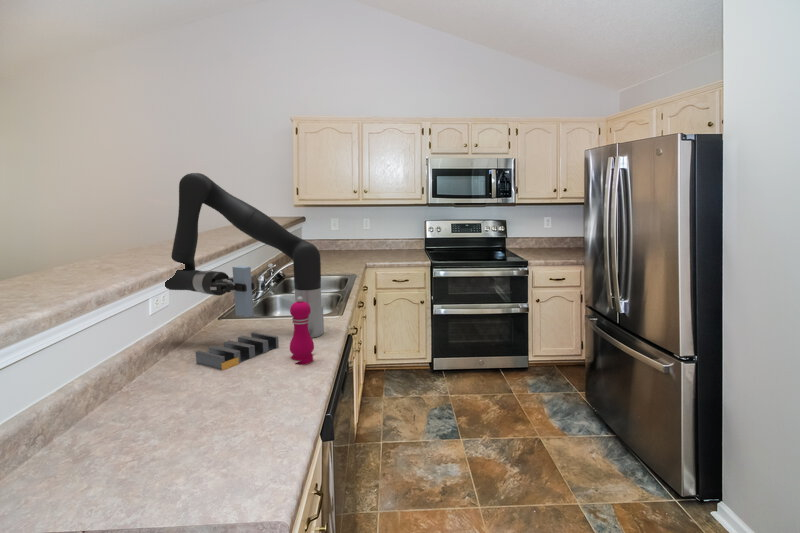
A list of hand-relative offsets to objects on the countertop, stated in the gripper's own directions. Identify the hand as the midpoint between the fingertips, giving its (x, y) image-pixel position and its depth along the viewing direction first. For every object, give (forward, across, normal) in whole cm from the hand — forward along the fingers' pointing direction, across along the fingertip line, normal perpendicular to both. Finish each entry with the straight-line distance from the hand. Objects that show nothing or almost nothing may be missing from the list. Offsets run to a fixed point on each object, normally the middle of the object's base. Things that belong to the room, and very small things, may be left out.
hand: (249, 287), depth 136 cm
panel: (-3, 0, +9) cm, 9 cm away
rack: (-3, -3, +22) cm, 23 cm away
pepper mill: (+15, +5, +23) cm, 28 cm away
